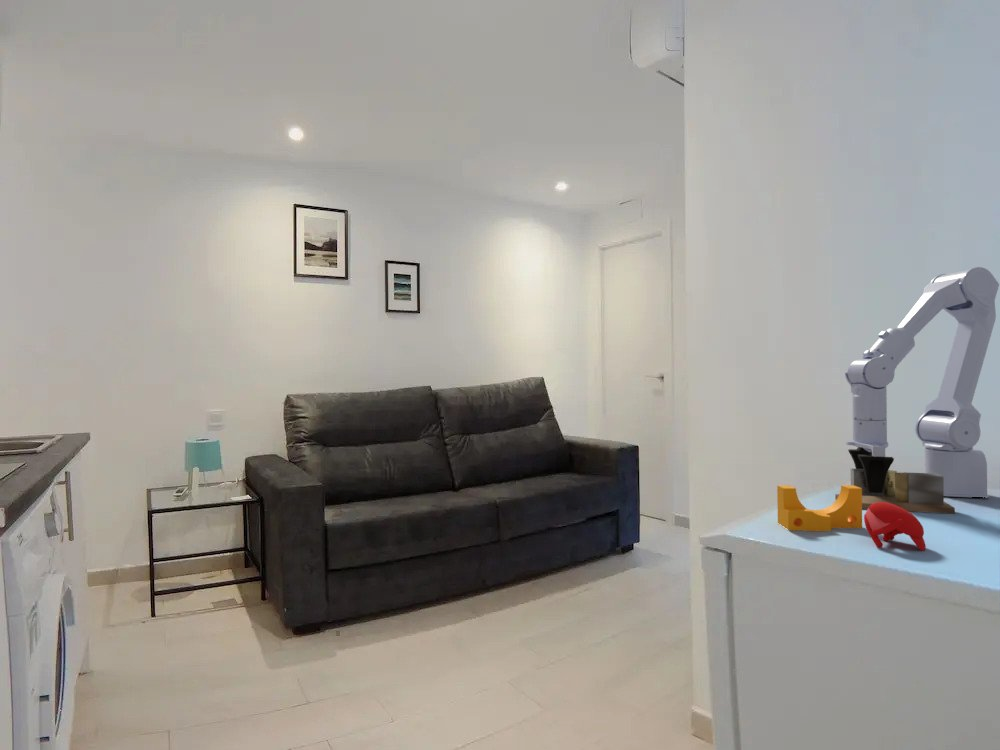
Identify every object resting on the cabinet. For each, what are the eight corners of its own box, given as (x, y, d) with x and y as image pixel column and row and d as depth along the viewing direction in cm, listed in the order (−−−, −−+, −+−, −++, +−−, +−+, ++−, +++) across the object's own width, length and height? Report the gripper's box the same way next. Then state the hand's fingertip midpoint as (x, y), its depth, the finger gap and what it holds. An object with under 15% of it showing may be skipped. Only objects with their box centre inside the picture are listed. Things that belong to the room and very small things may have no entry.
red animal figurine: (853, 523, 86) (894, 507, 82) (858, 502, 91) (897, 486, 87) (891, 569, 85) (934, 555, 81) (895, 545, 90) (936, 531, 86)
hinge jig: (940, 504, 110) (940, 472, 110) (954, 513, 103) (954, 478, 103) (835, 499, 116) (834, 468, 116) (842, 507, 109) (842, 474, 109)
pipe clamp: (788, 531, 95) (787, 490, 95) (777, 524, 99) (777, 485, 99) (868, 532, 94) (867, 490, 94) (854, 525, 98) (853, 485, 98)
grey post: (894, 495, 118) (894, 470, 118) (899, 498, 116) (898, 472, 115) (850, 493, 121) (850, 468, 121) (854, 496, 118) (853, 470, 118)
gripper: (839, 416, 127) (840, 480, 127) (854, 422, 113) (854, 494, 113) (878, 416, 124) (878, 482, 124) (898, 422, 110) (898, 496, 111)
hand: (870, 488), depth 118 cm, fingers open, 7 cm apart
